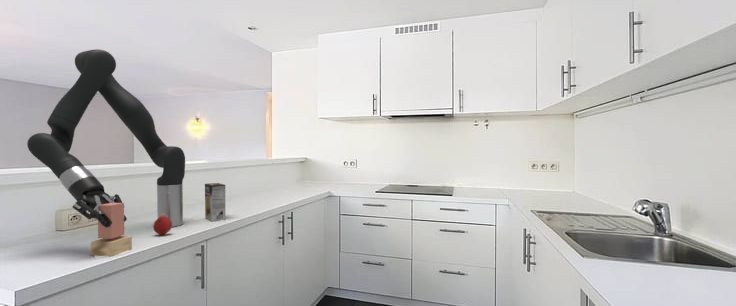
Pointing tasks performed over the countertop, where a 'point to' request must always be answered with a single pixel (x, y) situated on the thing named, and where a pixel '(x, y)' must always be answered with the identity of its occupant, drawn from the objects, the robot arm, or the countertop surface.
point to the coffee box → (215, 201)
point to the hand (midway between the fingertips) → (116, 223)
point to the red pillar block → (116, 216)
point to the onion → (162, 225)
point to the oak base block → (111, 246)
